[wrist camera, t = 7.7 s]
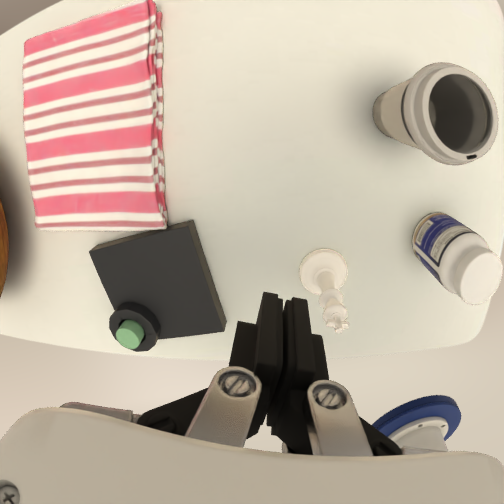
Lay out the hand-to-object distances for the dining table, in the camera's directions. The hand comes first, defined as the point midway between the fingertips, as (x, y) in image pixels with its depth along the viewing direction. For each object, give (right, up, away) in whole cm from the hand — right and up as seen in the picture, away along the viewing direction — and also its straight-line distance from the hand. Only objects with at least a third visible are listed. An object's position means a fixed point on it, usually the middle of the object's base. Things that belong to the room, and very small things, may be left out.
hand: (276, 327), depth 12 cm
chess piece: (+6, +1, +20) cm, 20 cm away
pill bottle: (+18, +4, +17) cm, 25 cm away
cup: (+12, +16, +13) cm, 24 cm away
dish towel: (-18, +16, +15) cm, 28 cm away
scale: (-11, -1, +21) cm, 24 cm away
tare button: (-14, -6, +20) cm, 25 cm away
